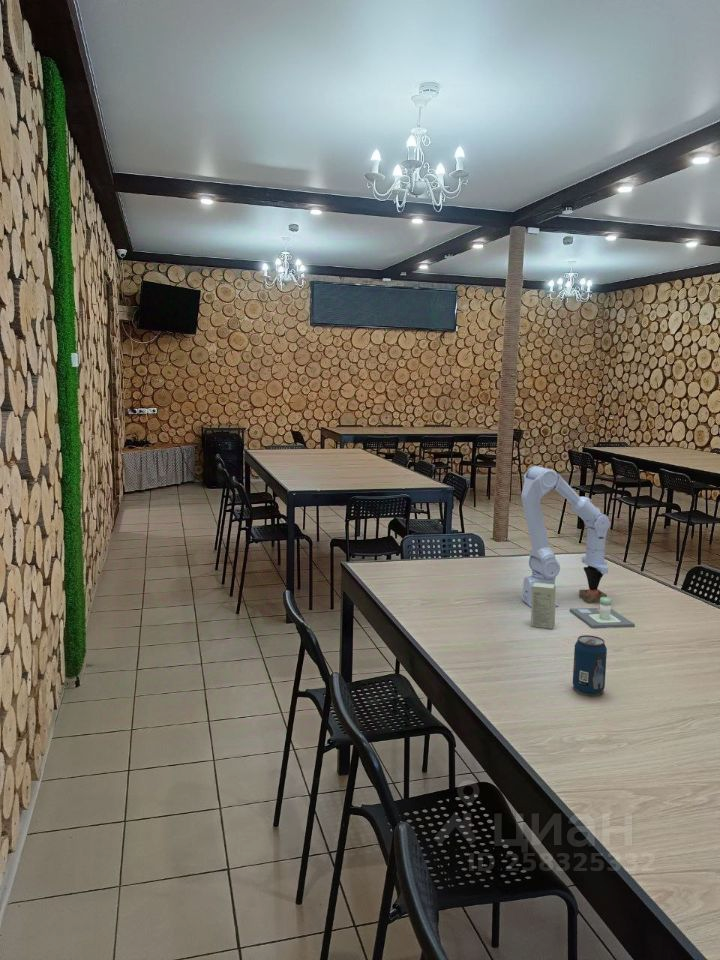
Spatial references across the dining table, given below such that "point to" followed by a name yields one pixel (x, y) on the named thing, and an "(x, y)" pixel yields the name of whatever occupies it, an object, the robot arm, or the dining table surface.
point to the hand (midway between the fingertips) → (593, 589)
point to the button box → (591, 596)
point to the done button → (592, 591)
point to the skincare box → (543, 605)
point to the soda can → (589, 665)
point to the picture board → (594, 621)
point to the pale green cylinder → (605, 608)
